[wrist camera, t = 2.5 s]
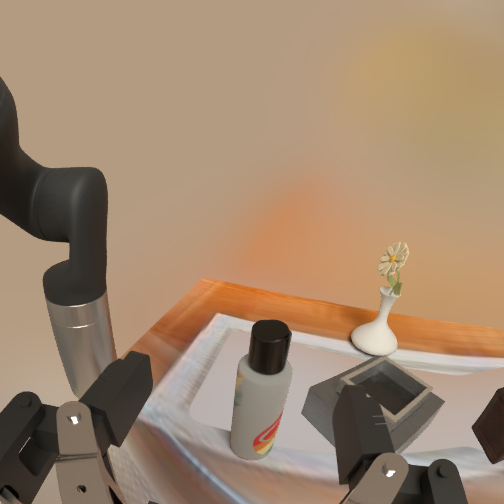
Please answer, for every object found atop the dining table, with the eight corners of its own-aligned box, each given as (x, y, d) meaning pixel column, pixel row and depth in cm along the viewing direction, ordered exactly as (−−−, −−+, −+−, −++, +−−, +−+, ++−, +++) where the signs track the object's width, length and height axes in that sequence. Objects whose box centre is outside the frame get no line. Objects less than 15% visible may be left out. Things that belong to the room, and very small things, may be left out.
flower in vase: (352, 329, 64) (376, 229, 57) (394, 339, 60) (424, 240, 53) (344, 357, 53) (376, 239, 46) (395, 369, 48) (435, 253, 41)
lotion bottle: (280, 448, 31) (314, 331, 25) (247, 467, 28) (271, 351, 22) (253, 424, 35) (273, 307, 30) (221, 440, 32) (229, 320, 26)
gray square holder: (301, 413, 38) (314, 373, 35) (366, 380, 46) (381, 343, 43) (369, 479, 25) (398, 444, 22) (428, 425, 33) (452, 388, 30)
